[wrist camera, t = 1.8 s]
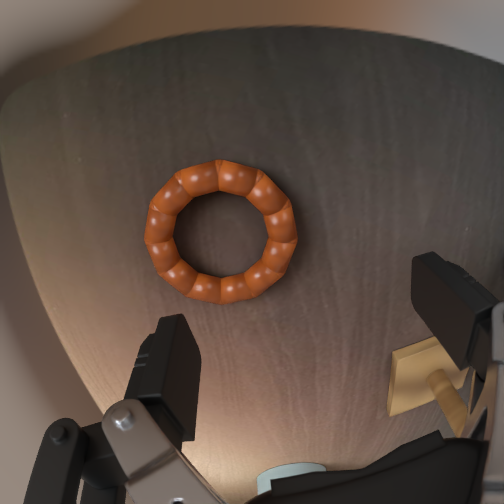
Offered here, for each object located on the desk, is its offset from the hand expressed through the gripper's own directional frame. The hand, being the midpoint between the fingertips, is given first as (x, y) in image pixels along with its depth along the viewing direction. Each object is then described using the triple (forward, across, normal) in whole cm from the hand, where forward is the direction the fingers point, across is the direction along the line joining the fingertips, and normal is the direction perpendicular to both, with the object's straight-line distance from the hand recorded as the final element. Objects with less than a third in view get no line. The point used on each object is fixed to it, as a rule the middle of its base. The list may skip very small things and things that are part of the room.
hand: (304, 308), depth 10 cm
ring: (+8, +3, 0) cm, 8 cm away
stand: (+9, -12, +18) cm, 23 cm away
